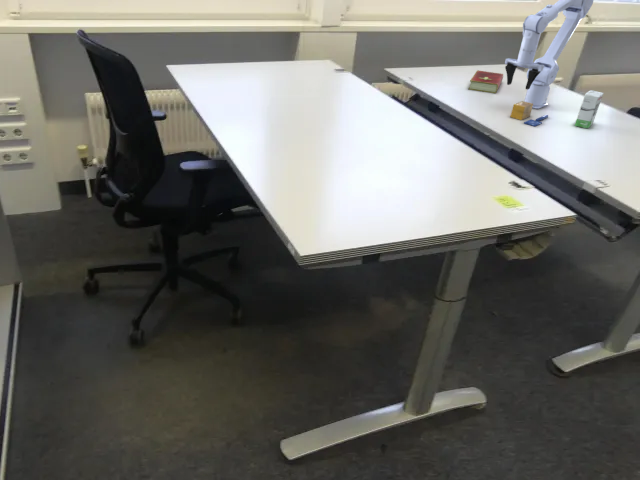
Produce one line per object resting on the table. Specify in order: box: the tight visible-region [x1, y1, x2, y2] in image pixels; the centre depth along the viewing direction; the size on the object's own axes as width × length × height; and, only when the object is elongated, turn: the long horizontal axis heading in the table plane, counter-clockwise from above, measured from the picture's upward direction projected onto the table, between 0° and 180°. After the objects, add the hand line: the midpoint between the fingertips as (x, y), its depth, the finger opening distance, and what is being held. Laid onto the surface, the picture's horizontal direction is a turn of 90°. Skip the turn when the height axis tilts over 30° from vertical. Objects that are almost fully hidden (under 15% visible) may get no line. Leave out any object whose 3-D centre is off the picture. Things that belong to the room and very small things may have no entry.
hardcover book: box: [468, 69, 504, 94], centre depth 249 cm, size 12×21×4 cm, turn 155°
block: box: [509, 100, 533, 121], centre depth 212 cm, size 7×4×5 cm, turn 133°
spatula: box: [523, 114, 549, 127], centre depth 209 cm, size 15×4×1 cm, turn 133°
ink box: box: [574, 90, 604, 129], centre depth 205 cm, size 9×5×12 cm, turn 142°
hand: (518, 86), depth 215 cm, fingers open, 7 cm apart
